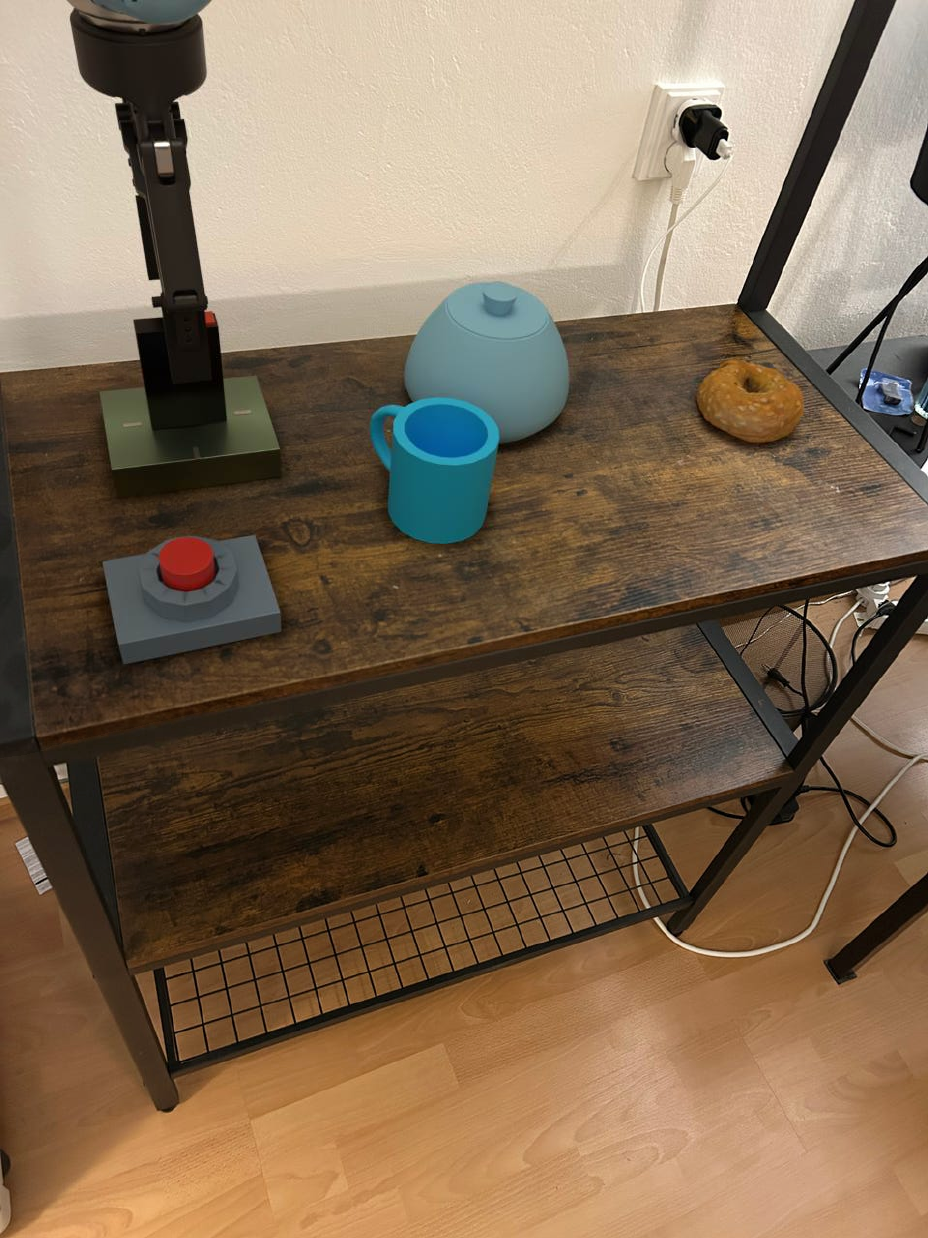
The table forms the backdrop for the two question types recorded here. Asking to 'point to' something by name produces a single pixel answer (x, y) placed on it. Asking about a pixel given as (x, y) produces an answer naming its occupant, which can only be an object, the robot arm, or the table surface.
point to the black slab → (179, 400)
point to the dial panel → (189, 443)
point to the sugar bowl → (492, 357)
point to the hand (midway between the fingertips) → (178, 325)
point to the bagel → (750, 401)
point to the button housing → (191, 602)
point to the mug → (437, 467)
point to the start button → (187, 564)
